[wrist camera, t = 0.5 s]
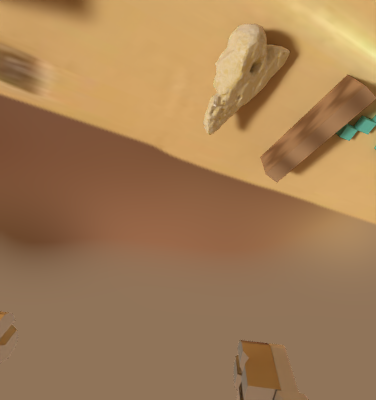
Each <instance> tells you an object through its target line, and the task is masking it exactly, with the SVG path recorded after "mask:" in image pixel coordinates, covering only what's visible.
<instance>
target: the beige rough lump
mask: <svg viewBox="0 0 376 400" xmlns="http://www.w3.org/2000/svg"><path fill="white" fill-rule="evenodd" d="M289 54H290V51H289V50H288V49H286V48H284V47H282V46H277V45H273V44H272V45H267V39H266V34H265V32H264V29H263V27H262V26H259V25H258V24H242V25H239V26H238V27H237V28H236V29H235V30H234V31H233V32H232V34H231V35H230V37H229V41H228V46H227V48H226V49H225V50H224V51H223V53H222V54H221V55H220V57H219V60H218V61H217V62H216V63H215V66H216V76H215V78H214V82H213V86H214V88H215V89H216V90H217V93H216V94H215V95H214V96H212V97H211V98H210V100H209V105H208V109H207V111H206V113H205V118H204V126H205V127H204V128H205V129H206V132H207V134H209V135H211V134H213V133H214V132H215V131H217V130H218V129H219V128H220V127H221V125H222V124H224V123H225V122H226V121H227V120H228V119H229V118H230V117H231V116H232V115H233V114H234V113H236V112H237V111H238V110H239V109H240V107H241V106H243V105H245V104H247V103H248V102H249V101H250V100H251V99H252V98H253V97H254V96H256V95H257V94H258V93H259V92H260V91H261V90H262V89H263V88H264V87H265V85H266V84H267V83H268V81H269V80H270V78H271V77H272V76H274V74H275V73H276V72H277V71H278V70H279V69H280V68H281V67H282V66H283V65H284V63H285V62H286V60H287V58H288V56H289Z"/></svg>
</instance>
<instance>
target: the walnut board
mask: <svg viewBox="0 0 376 400" xmlns="http://www.w3.org/2000/svg"><path fill="white" fill-rule="evenodd" d="M375 99H376V97H375V95H374V94H373V93H372V92H371V91H370V90H369V89H368V88H367V87H366V86H365V85H364V84H362V83H360V82H359V81H357V80H356V79H354V78H352V77H351V76H349V75H347V76H346V77H345V78H344V79H343V80H342V81H341V82H340V83H339V84H337V85H336V86H335V87H334V88H333V89H332V90H331V91H330V92H329V93H328V94H327V95H326V96H325V97H324V98H323V99H322V100H320V101H319V102H318V103H317V104H316V105H315V106H314V107H313V108H312V109H311V110H310V111H309V112H308V113H307V114H306V115H305V116H304V117H302V118H301V119H300V120H299V121H298V122H297V123H296V124H295V125H294V126H293V127H292V128H291V129H290V130H289V131H288V132H287V133H286V134H284V135H283V136H282V137H281V138H280V139H279V140H278V141H277V142H276V143H275V144H274V145H273V146H272V147H271V148H270V149H269V150H268V151H266V152H265V153H264V154H263V155H262V156H261V160H262V163H263V167H264V170H265V173H266V175H268V176H269V177H270V178H272V179H273V180H274V181H276V182H278V181H279V180H280V179H282V178H283V177H284V176H285V175H286V174H288V173H289V172H290V171H291V170H292V169H293V168H295V167H296V166H297V165H298V164H299V163H301V162H302V161H303V160H304V159H305V158H307V157H308V156H309V155H310V154H311V153H312V152H314V151H315V150H316V149H317V148H318V147H320V146H321V145H322V144H323V143H324V142H326V141H327V140H328V139H329V138H330V137H331V136H333V135H334V134H335V133H336V132H337V131H339V130H340V129H341V128H342V127H343V126H345V125H346V124H347V123H348V122H349V121H351V120H352V119H353V118H354V117H355V116H356V115H358V114H359V113H360V112H361V111H362V110H364V109H365V108H366V107H367V106H368V105H370V104H371V103H372V102H373V101H374V100H375Z"/></svg>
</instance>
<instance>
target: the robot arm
mask: <svg viewBox="0 0 376 400" xmlns="http://www.w3.org/2000/svg"><path fill="white" fill-rule="evenodd" d="M14 321H15V318H14V315H13V313H9V312H2V311H0V363H1V362H3V361H4V360H6V359H8V358H9V356H10V355H11V353H12V352H13V350H14V348H15V346H16V343H17V339H18V332H17V329H16V328H15V327H14V326H13V325H12V324H13V322H14ZM234 387H235V388H236V390H237V391H238V394H237V397H236V400H309V399H308V398H307V397H306V396H305V395H304V394H302V393H299V391H298V388H297V385H296V381H295V378H294V375H293V371H292V368H291V365H290V361H289V358H288V355H287V352H286V348H285V347H284V346H283V345H279V344H270V343H263V342H253V341H245V340H240V341H239V344H238V355H237V356H236V357H235V362H234Z"/></svg>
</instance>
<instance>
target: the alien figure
mask: <svg viewBox="0 0 376 400" xmlns="http://www.w3.org/2000/svg"><path fill="white" fill-rule="evenodd" d="M375 125H376V116H375V117H374V118H373V119H369V118H367V117H364V116H361V118H360V119H359V120H358V121H357V123H356V124H355V125H354V126H352V125H349V124H346V125H345V126H343V127H342V128H341V129H340V130H339V131H337V132H336V134H337V135H338V136H339V137H341V138H344V139H346V140H349V141H350V139H351V138H352V137H353V136H354V134H355V133H356V132H357V131H361V132H363V133H366V134H369V132H370V131H371V130H372V129H373V128H374V126H375ZM375 149H376V146H375Z"/></svg>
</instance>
